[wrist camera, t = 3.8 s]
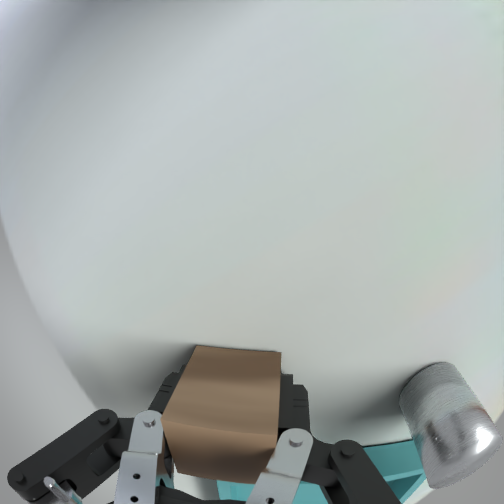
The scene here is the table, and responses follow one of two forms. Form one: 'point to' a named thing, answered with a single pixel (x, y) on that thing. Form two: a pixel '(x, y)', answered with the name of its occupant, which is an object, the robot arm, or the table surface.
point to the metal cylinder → (447, 425)
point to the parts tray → (383, 457)
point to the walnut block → (224, 414)
